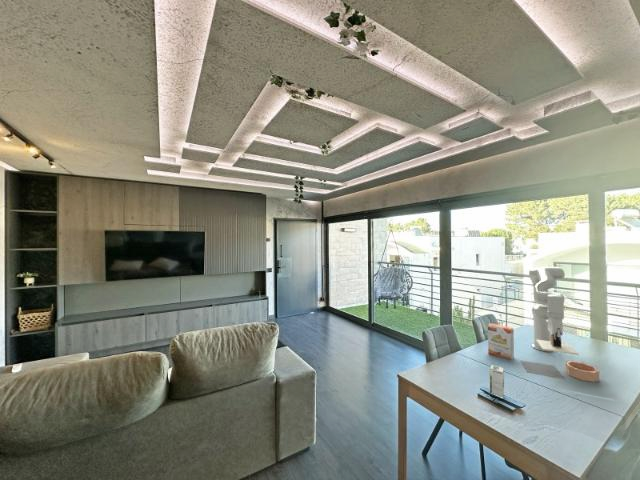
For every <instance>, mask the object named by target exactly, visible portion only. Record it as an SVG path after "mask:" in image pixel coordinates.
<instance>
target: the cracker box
mask: <svg viewBox="0 0 640 480" xmlns="http://www.w3.org/2000/svg"><path fill="white" fill-rule="evenodd" d="M514 335H515V334H514V327H509V326H505V325H500V324H496V323H489V324H488V325H487V343H488V344H487V345H488V347H487V349H488V350H487V351H488V354H490V355H493V356H498V357H500V358H504V359H508V360H513V359H514V357H515V356H514V355H515V350H514V349H515V348H514V347H515V346H514V345H515V341H514V340H515V338H514Z"/></svg>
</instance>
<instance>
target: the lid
mask: <svg viewBox="0 0 640 480" xmlns="http://www.w3.org/2000/svg"><path fill="white" fill-rule="evenodd" d="M536 341H537V343H538V344H539V345H540V347H541V348H542V349H543V350H547V351H552V352H554V353H555V352H557V353H563V354H568V355H574V356H579V355H580V353H579V352H578V351H577V350H576V349H575V348H573V346H572V345H570V343H567V342H561V347H558V346H554V335H551V341H544V340H537V339H536ZM547 351H546V352H547Z"/></svg>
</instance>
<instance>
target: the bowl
mask: <svg viewBox="0 0 640 480" xmlns="http://www.w3.org/2000/svg"><path fill="white" fill-rule="evenodd" d="M565 373H567V374H568V376H569V377H570V376H571V377H573V378H575V379H578V380H580V381H584V382H592V383H594V382H595V383H596V382H598V381H600V370H599V369H597V368H596V367H595V366H593V365H591V364H589V363H585V362H582V361H581V362H580V361H573V360H570V361H565Z"/></svg>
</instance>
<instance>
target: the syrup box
mask: <svg viewBox="0 0 640 480" xmlns="http://www.w3.org/2000/svg"><path fill="white" fill-rule="evenodd" d="M490 393H491V394H494V395H497V396H499V397H503V398H504V395H505V368H504V367H502V366H498V365H495V364H492V365H490V368H489V394H490Z"/></svg>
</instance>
